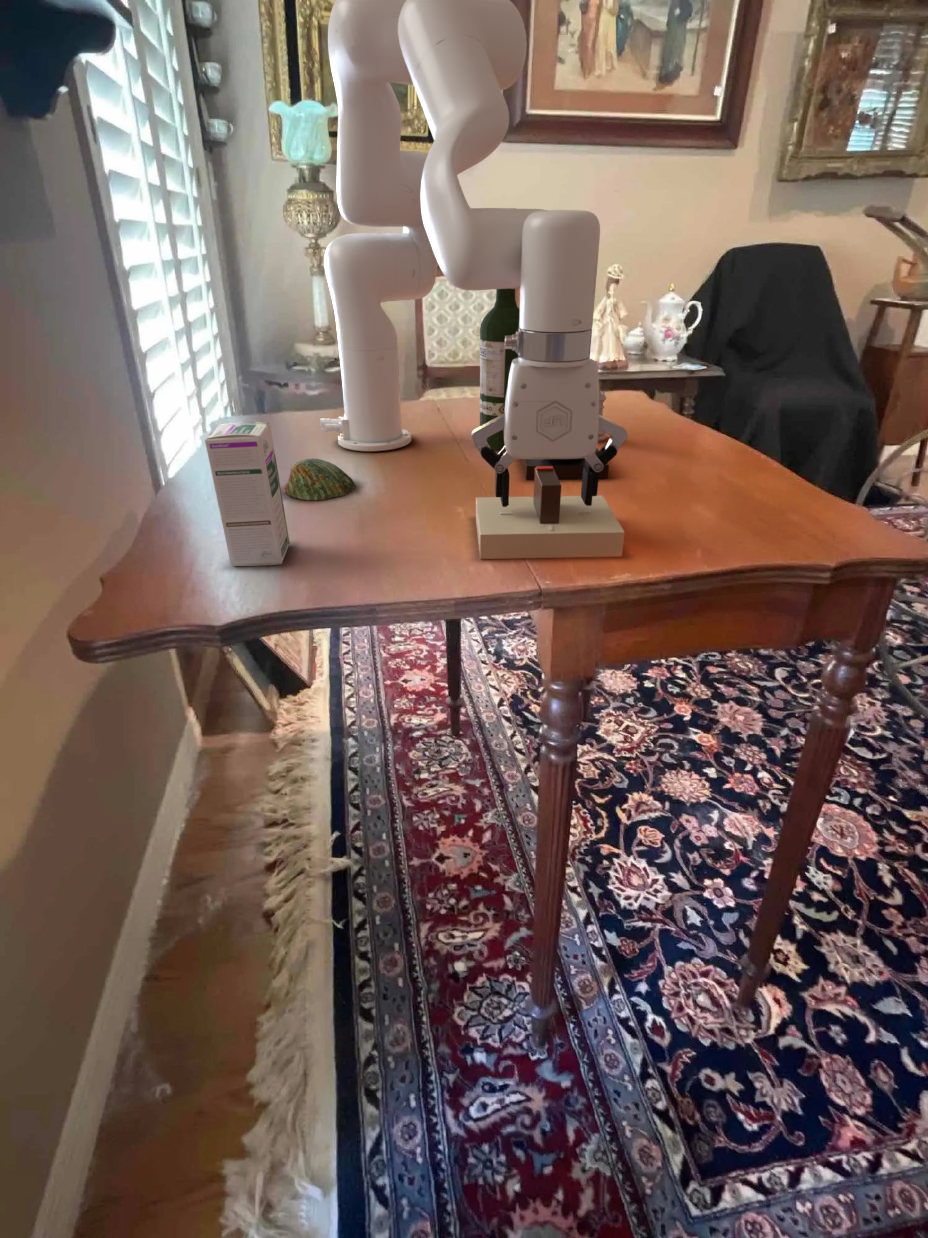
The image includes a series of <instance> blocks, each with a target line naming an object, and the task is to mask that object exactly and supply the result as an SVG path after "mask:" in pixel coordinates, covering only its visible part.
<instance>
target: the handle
mask: <svg viewBox="0 0 928 1238" xmlns="http://www.w3.org/2000/svg"><path fill="white" fill-rule="evenodd" d="M560 481H561V480H559V479H558V477H557V475H556V473H555V471H554V469H553V466H536V468H535V477H534V480H533V497H534V499H533V504H534V507H535V510H536V513H537V516H538V519H539V522H540V523H559V516H560V500H561V496H562V483H561V482H560Z"/></svg>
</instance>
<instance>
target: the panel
mask: <svg viewBox="0 0 928 1238" xmlns="http://www.w3.org/2000/svg"><path fill="white" fill-rule="evenodd" d="M533 499H534V496H509V505H508V506H507V507H502V503H501V497H496V496H480V497H479V496H478V497H475V523H476V524H475V525H476V533H477V542H478V551H479V552H478V553H479V559H480V560H500V559H501V560H502V559H503V560H505V559H506V560H508V559H514V560H515V559H561V558H566V559H567V558H568V559H569V558H570V559H571V558H614V557H616V558H618V557H623V550H624V540H625V530H624V529H623V527H622V525H621V523H620V522H619V520H618V519H617V516H616V515H615V513H614V512H613V510H612V508H611V507H610V505H609V503H608V501H607V500H606V498H605V497H604V495H601V494H600V495H598V494H597V496H592V505H591V506H586V505H585V504H584V502H583V500H582V498H581V495H561V500H560V516H559V523H540V522H539V519H538V516H537V513H536V510H535V507H534V504H533Z"/></svg>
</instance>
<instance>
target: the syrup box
mask: <svg viewBox="0 0 928 1238" xmlns="http://www.w3.org/2000/svg"><path fill="white" fill-rule="evenodd" d="M204 443H205V448H206V453H207V458H208V462H209V467H210V472H211V477H212V480H213V486H214V492H215V495H216V501H217V506H218V508H219V509H218V511H219V514H220V519H221V524H222V529H223V533H224V538H225V542H226V543H225V544H226V547H227V553H228V557H229V562H230V565H231V566H233V567H259V566H261V567H262V566H276V565H277V566H278V565H282V564H283V561H284V558H285V557H286V554H287V553H288V549H289V546H290V536H289V531H288V525H287V518H286V512H285V507H284V501H283V494H282V488H281V482H280V476H279V469H278V463H277V457H276V452H275V447H274V439H273V434H272V428H271V424H270V422H264V421H237V422H229V423H228V422H227V423H218V424H217V426H216V428H215V429H214V430H213V431H212V432H210V434H209V435H207V437H206V438H205V439H204Z"/></svg>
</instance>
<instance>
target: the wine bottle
mask: <svg viewBox="0 0 928 1238" xmlns="http://www.w3.org/2000/svg"><path fill="white" fill-rule="evenodd" d="M495 291H496V292H495V302H494V305H493V307H492V308H491V309H490V310H489V311H488V312H487V313H486V314H485V316H484V317H483V318H482V320H481V323H480V328H479V427H480V426H481V425H483V424H485V423H487V422H489V421H491V420H493V419H495V418H497V417H498V416H500V415H502V414H504V411H505V400H506V391H507V385H508V378H509V372H510V368H511V364H512V360H513V359H516V358H518V353H516V351H515V350H513V351H512V349H505V336H512V334H516V332H518V328H520V327H519V319H520V316H519V315H520V307H518V305H517V301H516V289H510V288H509V289H495ZM487 442H488V444H489V446H490V447H491V448H492V449H493V450H494V451H495V452H500V451H501V449H502V448H503V447H504V446H505V443H504V436H503V430H501V431H499V432H497V433H495V434H493V435H491V436H490V437H488V438H487Z"/></svg>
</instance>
